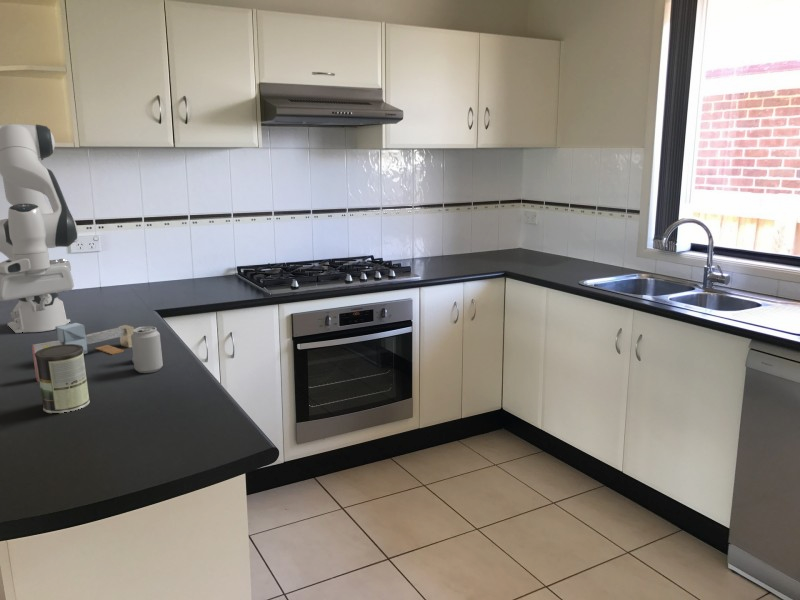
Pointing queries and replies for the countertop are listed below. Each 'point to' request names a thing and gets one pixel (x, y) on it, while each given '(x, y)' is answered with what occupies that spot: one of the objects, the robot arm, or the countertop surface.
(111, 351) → the rail
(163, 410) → the countertop surface
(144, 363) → the can
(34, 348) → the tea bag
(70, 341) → the light blue block
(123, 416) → the countertop surface
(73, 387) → the coffee can
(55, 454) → the countertop surface
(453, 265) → the countertop surface
